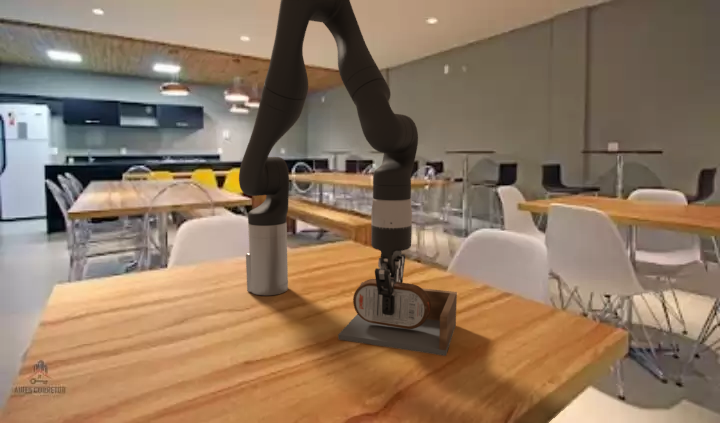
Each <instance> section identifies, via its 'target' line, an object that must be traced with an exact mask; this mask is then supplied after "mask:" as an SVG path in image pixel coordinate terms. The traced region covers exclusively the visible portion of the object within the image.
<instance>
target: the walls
mask: <svg viewBox="0 0 720 423" xmlns="http://www.w3.org/2000/svg"><path fill="white" fill-rule="evenodd" d="M363 282H364V281H362V282H361V283H360V285H361V284H362V283H363ZM421 288H422V287H421ZM422 289H423V290H424V291H425V292H426V293H427V295H428V296H429V299H430V302H431V311H430V314H429V316H428V318H427V319H430V320H438V321H440V336H439V349H440V350H446V349H447V346H448V343H449V340H450V337H451V334H452V331H453V328H454V325H455V322H456V323H457V305H458V304H457V297H458V292H457V291H452V290H441V289H433V288H432V289H431V288H422Z"/></svg>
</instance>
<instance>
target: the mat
mask: <svg viewBox="0 0 720 423" xmlns="http://www.w3.org/2000/svg"><path fill="white" fill-rule="evenodd" d="M456 325H457V321H456V322H455V325H454V328H453V331H452V334H451V337H450V340H449V343H448V346H447V349H446V350H440V349H439V336H440V321H438V320H430V319H426V320H425V322H424V323H423V324H422V325H421V326H419V327H417V328H414V329H404V328H399V327H393V326H387V325H381V324H375V323H370V322H367V321H365V320H363V319H362V318H361V317H360V316H359V315H358V314H357V313H356V315H355V316H354V317H353V318H352V319H351V320H350V321H349V322H348V324H347V325H346V326H345V327H344V328H343V329H342V330H341V331H340V332H339V333H338V334H337V335H338V341H346V342H353V343H360V344H365V345H373V346H379V347H386V348H393V349H397V350H398V349H399V350H406V351H412V352H419V353H424V354H425V353H426V354H433V355H436V356H437V355H439V356H444V357H446V356H447V353H448V351H449V347H450V344H451V342H452V339H453V335H454V332H455V329H456Z"/></svg>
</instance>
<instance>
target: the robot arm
mask: <svg viewBox="0 0 720 423" xmlns="http://www.w3.org/2000/svg"><path fill="white" fill-rule="evenodd" d="M279 3H280V4H279V9H278V16H277V23H276V30H275V37H274V42H273V46H272V50H271V56H270V61H269V64H268V69H267V72H266V75H265V79H264V81H263V82H264V83H263V87H262V91H261V95H260V100H259V104H258V109H257V114H256V117H255V122H254V125H253V129H252V131H251V135H250V138H249V141H248V144H247V146H246V149H245V151H244V154H243V157H242V160H241V163H240V166H239V174H238V182H239V188H240V190H241V192H242V193H243V194H244V195H246V196H250V197H255V196H256V197H257V196H260V197H261V196H265V199H264V200H263V202H262V203H261V204H260V205H258V206H257V207H255V208H252V209H251V210H250V211H248V213H247V228H248V251H249V252H247V253H246V254H245V265H246V266H245V267H246V268H245V269H246V291H247V292H249V293H252V294H253V295H257V296H274V295H275V296H276V295H280V294H284V293H285V292H286V291H288V290H289V278H288V276H289V275H288V274H289V273H288V265H289V264H288V236H287V235H288V232H287V231H288V228H287V227H288V225H287V215H288V211H289V190H290V187H289V186H290V175H289V174H290V172H289V168H288V165H287V162H286V160H284V158H282V157H279V156H269V155H270V153H271V152H272V150H273V148H274V146H275V145H276V144H277V142H279V140H280V139H282V137H283V136H284V135H285V134H287V133H288V131H289V130H290V129H291V128H292V127H293V126H294V125H295V124H296V123H297V121H298V120H299V118H300V116H301V115H302V112H303V109H304V106H305V102H306V99H307V96H308V92H309V79H308V73H307V69H306V64H305V60H304V52H303V48H304V40H305V36H306V33H307V28H308V25H309V23H310V22H317V23H323V25H325V27H326V28H327V29H328V31H329V32H330V33H331V35H332V37H333V38H334V42H335V43H336V48H337V68H338V72H339V76H340V79H341V81H342V84H343V85H344V87H345V89H346V91H347V93H348V95H349V96H350V98H351V100H352V102H353V103H354V105H355V107H356V112H357V117H358V120H359V123H360V127H361V131H362V134H363V136H364V137H365V139H366V141H367V142H368V144H369V146H370V147H372V149H373V150H375V151H377V152H378V153H381V154H383V156H382V163H381V165H380V166H379V167H377V168H376V169H375V170H374V171H373V177H372V205H371V212H370V213H371V233H370V234H371V235H370V236H371V238H370V239H371V241H370V242H371V246H372V248H373V249H375V250H378V251H380V257H379V258H378V261H377V263H378V264H377V266H378V268H377V267H376V268H375V270H374V278H375V279H376V283H377V290H378V295H382V313H383V314H385V315H393V314H394V309H395V284H396V283H398V282H402V283H404V282H403V281H404V280H403V278H404V270H405V262H406V257H407V256H406V254H404V253H402V251H407V250H409V249H410V248H411V247H412V228H413V226H412V225H413V224H412V223H413V220H412V219H413V210H412V200H411V198H412V172H413V169H414V165H415V160H416V155H417V151H418V146H419V145H418V144H419V133H418V126H416V123H415V121H414V120H413V119H412V118H411V117H410V116H408V115H406V114H400V113H395V112H394V111H393V109H392V108H391V106H390V103H389V101H390V98H391V90H390V87H389V85H388V82H387V81H386V79H385V77H384V75H383V74H382V72H381V71H380V69H379V67H378V65H377V63H376V61H375V59H374V58H373V56H372V54H371V52H370V50H369V48H368V46H367V44H366V42H365V39H364V36H363V33H362V31H361V28H360V25H359V23H358V20H357V17H356V14H355V12H354V9H353V6H352V3H351V0H280V2H279ZM385 287H387V288H388V289H385Z"/></svg>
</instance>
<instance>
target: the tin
mask: <svg viewBox="0 0 720 423" xmlns="http://www.w3.org/2000/svg"><path fill="white" fill-rule="evenodd" d="M362 282H363V283H362ZM362 282H361V283H362V284H361V283H360V285H359V286H358V287H357V289H355V292H354V294H353V296H352V297H353V300H352V303H353V308H354V310H355V313H356V315H357V314H358V315H359V316H360V317H361V318H362V319H363V320H365V321H367V322H370V323H375V324H381V325H387V326H393V327H399V328H404V329H414V328H417V327H419V326H421V325H422V324H423V323H424V322H425V320H426V319H427V318H428V316H429V314H430V311H431V302H430V299H429V296H428V295H427V293H426V292H425V291H424V290H423V289H422V287H421V286H418V285H417V284H415V283H408V282H398V283H396V284H395V309H394V314H393V315H385V314H383V313H382V295H378V290H377V283H376V278H370V279H366V280H365V281H362ZM385 289H388V288H387V287H385Z"/></svg>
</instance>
